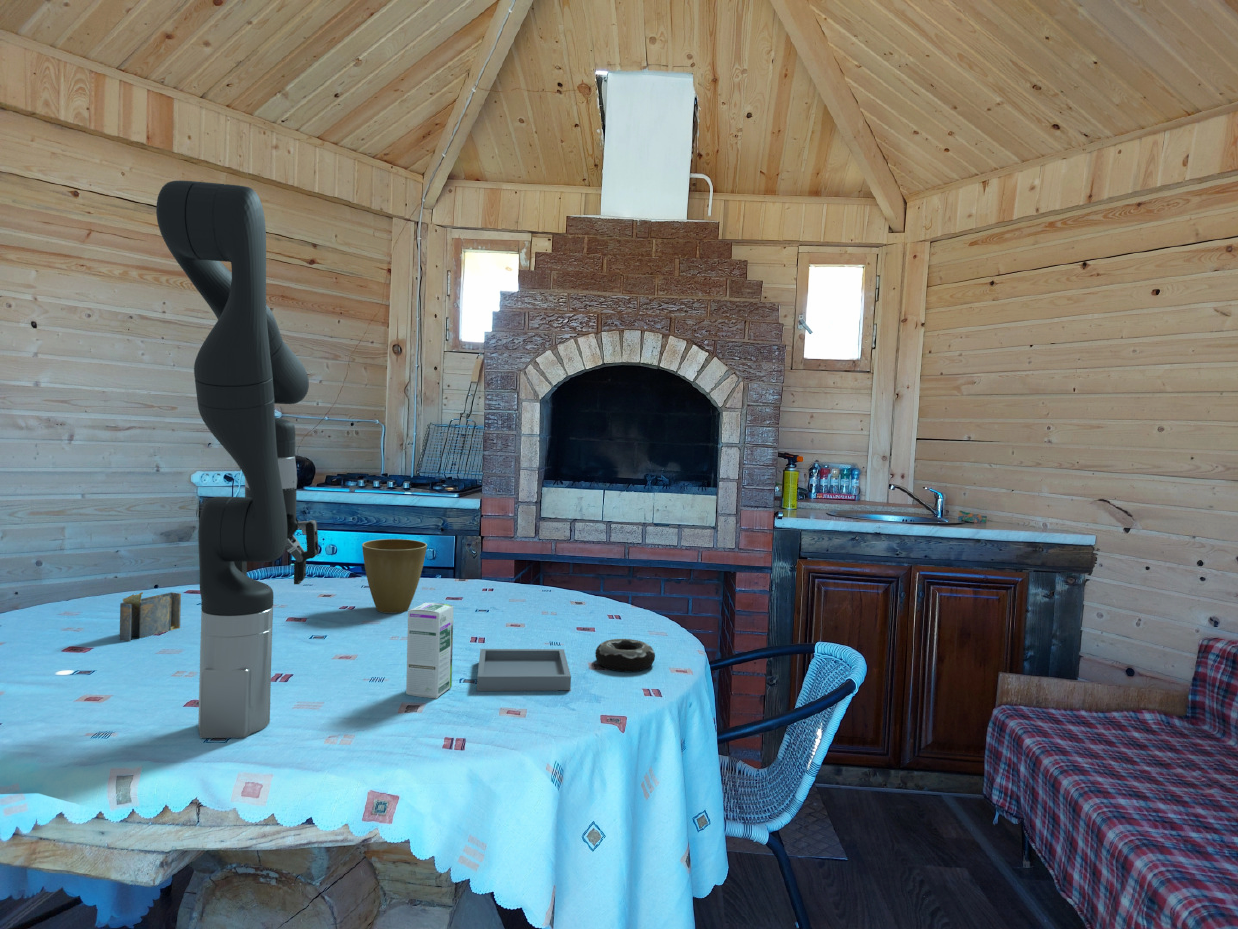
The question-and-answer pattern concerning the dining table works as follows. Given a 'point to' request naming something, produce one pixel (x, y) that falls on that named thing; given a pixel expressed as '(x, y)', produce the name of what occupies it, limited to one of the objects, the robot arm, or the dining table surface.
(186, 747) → the dining table surface
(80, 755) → the dining table surface
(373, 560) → the plant pot
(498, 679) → the tray
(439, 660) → the syrup box
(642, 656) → the donut
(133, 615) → the weathered flanged block
